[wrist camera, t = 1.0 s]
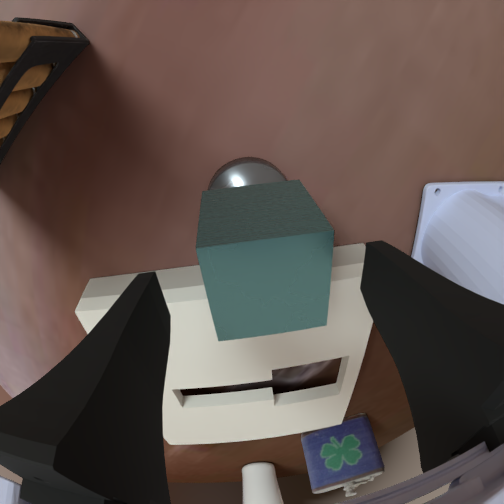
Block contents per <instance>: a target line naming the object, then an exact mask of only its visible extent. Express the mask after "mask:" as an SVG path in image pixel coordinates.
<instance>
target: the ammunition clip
mask: <svg viewBox="0 0 504 504" xmlns="http://www.w3.org/2000/svg"><path fill="white" fill-rule="evenodd" d="M88 44H89V40H88V39H87V38H86V37H85V36H84V35H83V34H82V33H81V32H80V31H79V30H78V29H77V28H76V27H75V26H74V25H73V24H72V23H66V22H59V21H51V20H41V19H30V18H17V17H16V18H14V19H13V20H12V22H10V21H0V164H1V162H2V160H3V158H4V157H5V155H6V153H7V151H8V150H9V148H10V146H11V145H12V143H13V141H14V140H15V138H16V136H17V135H18V133H19V132H20V130H21V129H22V127H23V125H24V124H25V122H26V121H27V119H28V118H29V116H30V115H31V114H32V112H33V111H34V109H35V108H36V106H37V105H38V104H39V102H40V101H41V100H42V98H43V97H44V96H45V94H46V93H47V92H48V90H49V89H50V88H51V86H52V85H53V84H54V83H55V81H56V80H57V79H58V78H59V77H60V75H61V74H62V73H63V72H64V71H65V69H66V68H67V67H68V66H69V65H70V64H71V62H72V61H73V60H74V59H75V58H76V57H77V56H78V55H79V54H80V53H81V51H82V50H83V49H84V48H85V47H86V46H87V45H88Z"/></svg>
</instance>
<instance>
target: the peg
mask: <svg viewBox="0 0 504 504" xmlns="http://www.w3.org/2000/svg"><path fill="white" fill-rule="evenodd" d="M333 242H334V230H333V228H332V227H331V225H330V224H329V222H328V221H327V219H326V218H325V216H324V215H323V213H322V212H321V210H320V209H319V207H318V206H317V204H316V203H315V202H314V200H313V199H312V197H311V196H310V194H309V193H308V191H307V190H306V189H305V187H304V186H303V184H302V183H301V182H300V180H291V181H286V179H285V177H284V176H283V174H282V173H281V172H280V170H279V169H278V168H277V167H276V166H274V165H273V164H271V163H270V162H268V161H266V160H263V159H260V158H254V157H244V158H239V159H235V160H233V161H230V162H228V163H227V164H225V165H224V166H222V167H221V168H220V169H219V170H218V171H217V172H216V173H215V175H214V176H213V178H212V179H211V181H210V184H209V187H208V191H202V199H201V207H200V215H199V224H198V233H197V242H196V252H197V256H198V261H199V265H200V269H201V274H202V278H203V282H204V286H205V290H206V295H207V299H208V303H209V307H210V311H211V315H212V319H213V323H214V326H215V330H216V334H217V338H218V341H226V340H235V339H243V338H251V337H258V336H265V335H272V334H279V333H285V332H292V331H298V330H304V329H310V328H316V327H321V326H327V317H328V307H329V296H330V285H331V272H332V258H333Z"/></svg>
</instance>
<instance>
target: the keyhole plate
mask: <svg viewBox="0 0 504 504" xmlns="http://www.w3.org/2000/svg"><path fill="white" fill-rule="evenodd" d="M365 249H366V247H365V245H364V244H363V243H360V244H353V245H346V246H338V247H333V258H332V272H331V285H330V296H329V307H328V317H327V326H321V327H316V328H310V329H304V330H298V331H292V332H285V333H279V334H272V335H265V336H258V337H251V338H243V339H235V340H226V341H218V338H217V334H216V330H215V326H214V323H213V319H212V315H211V311H210V307H209V303H208V299H207V295H206V290H205V286H204V282H203V278H202V274H201V269H200V265H195V266H188V267H180V268H172V269H164V270H156V271H155V272H156V275H157V278H158V281H159V284H160V287H161V290H162V292H163V295H164V298H165V301H166V304H167V307H168V309H169V312H170V315H171V333H170V347H169V355H168V362H167V369H166V377H165V385H164V393H163V407H162V413H163V437H164V438H165V440H166V441H167V442H168V443H169V444H170V445H179V444H209V443H225V442H236V441H246V440H255V439H263V438H271V437H278V436H284V435H290V434H296V433H301V432H307V431H312V430H317V429H321V428H326V427H331V426H335V425H339V424H342V421H343V418H344V415H345V413H346V410H347V407H348V404H349V401H350V398H351V395H352V392H353V389H354V386H355V383H356V380H357V377H358V374H359V370H360V367H361V364H362V360H363V357H364V353H365V350H366V346H367V343H368V339H369V335H370V331H371V328H372V324H373V319H372V317H371V315H370V313H369V311H368V309H367V306H366V304H365V301H364V298H363V295H362V293H361V290H360V284H361V278H362V271H363V264H364V257H365ZM149 272H153V271H149ZM141 273H146V272H141ZM138 274H139V273H133V274H125V275H117V276H109V277H101V278H93V279H90V280H89V282H88V284H87V286H86V288H85V290H84V292H83V294H82V297H81V299H80V301H79V303H78V305H77V308H76V310H75V313H76V315H77V317H78V318H79V320H80V322H81V323H82V325H83V327H84V329H85V330H86V332H87V334H89V332H90V331H91V330H92V329H93V328H94V327H95V325H96V324H97V323H98V322H99V321H100V320H101V318H102V317H103V316H104V315H105V314H106V313H107V311H108V310H109V309H110V308H111V306H112V305H113V304H114V303H115V301H116V300H117V299H118V298H119V297H120V295H121V294H122V293H123V292H124V290H125V289H126V288H127V287H128V285H129V284H130V283H131V282H132V280H133V279H134V278H135V277H136V276H137V275H138ZM340 357H342V359H341V364H340V368H339V373H338V377H337V382H336V383H334V384H329V385H324V386H319V387H314V388H309V389H304V390H298V391H292V392H286V393H280V394H274V395H273V391H272V387H269V388H262V389H255V390H246V391H238V392H228V393H218V394H206V395H191V396H183V395H182V393H181V391H180V389H191V388H205V387H216V386H227V385H236V384H245V383H253V382H260V381H268V380H272V370H274V369H281V368H287V367H293V366H299V365H305V364H310V363H316V362H321V361H326V360H331V359H336V358H340Z"/></svg>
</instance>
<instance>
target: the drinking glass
mask: <svg viewBox="0 0 504 504" xmlns="http://www.w3.org/2000/svg"><path fill="white" fill-rule="evenodd" d="M242 477H243V504H283V501H282V497H281V494H280V489H279V486H278V482H277V478H276V473H275V467H274V465H273V464H272V463H269V462H256V463H251V464H247V465H245V466H244V467H243V468H242Z"/></svg>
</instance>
